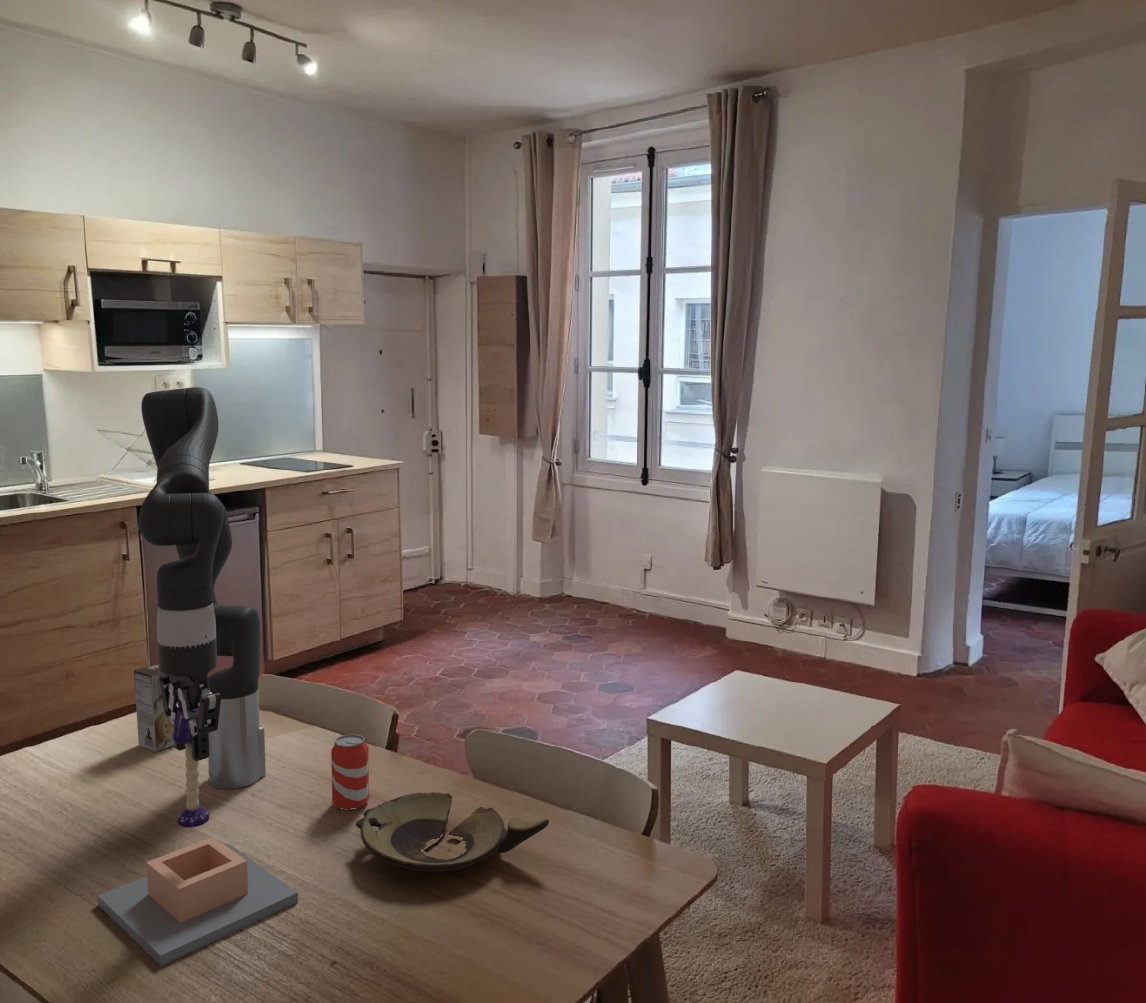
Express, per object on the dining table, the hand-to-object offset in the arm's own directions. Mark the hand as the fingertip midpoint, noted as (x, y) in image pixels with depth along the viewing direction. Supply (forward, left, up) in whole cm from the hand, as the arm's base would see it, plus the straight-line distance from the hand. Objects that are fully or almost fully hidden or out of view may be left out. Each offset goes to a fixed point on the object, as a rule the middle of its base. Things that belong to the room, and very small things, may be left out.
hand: (191, 753), depth 130 cm
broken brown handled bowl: (-33, +16, -23) cm, 43 cm away
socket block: (0, 0, -23) cm, 23 cm away
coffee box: (-23, -60, -23) cm, 68 cm away
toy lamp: (0, 0, -11) cm, 11 cm away
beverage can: (-33, -10, -23) cm, 41 cm away
